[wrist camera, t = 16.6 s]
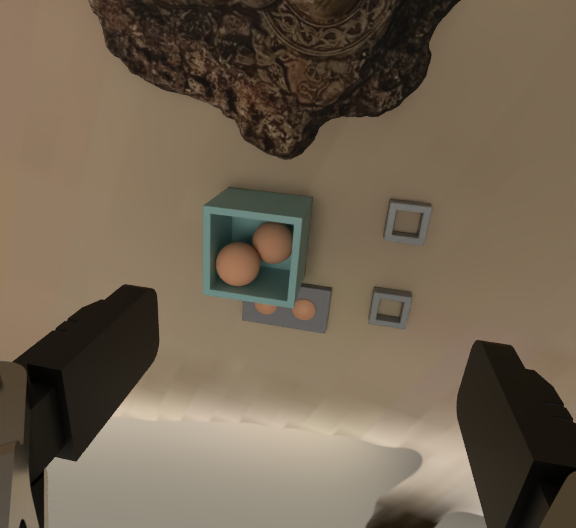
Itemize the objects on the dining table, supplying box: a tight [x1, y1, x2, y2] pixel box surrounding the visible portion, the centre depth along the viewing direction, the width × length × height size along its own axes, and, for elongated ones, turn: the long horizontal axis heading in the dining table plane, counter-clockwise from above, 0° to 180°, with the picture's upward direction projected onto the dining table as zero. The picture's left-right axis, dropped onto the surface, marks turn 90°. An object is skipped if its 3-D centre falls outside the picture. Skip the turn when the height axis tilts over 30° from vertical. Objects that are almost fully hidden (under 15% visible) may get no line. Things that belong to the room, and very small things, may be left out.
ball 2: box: [252, 221, 293, 264], centre depth 40 cm, size 4×4×4 cm
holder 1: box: [383, 199, 432, 246], centre depth 39 cm, size 4×4×1 cm
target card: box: [242, 284, 331, 334], centre depth 44 cm, size 9×5×1 cm, turn 85°
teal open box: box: [203, 187, 313, 308], centre depth 39 cm, size 8×8×7 cm
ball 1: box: [216, 242, 260, 286], centre depth 38 cm, size 4×4×4 cm
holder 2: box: [369, 287, 412, 329], centre depth 42 cm, size 4×4×1 cm
